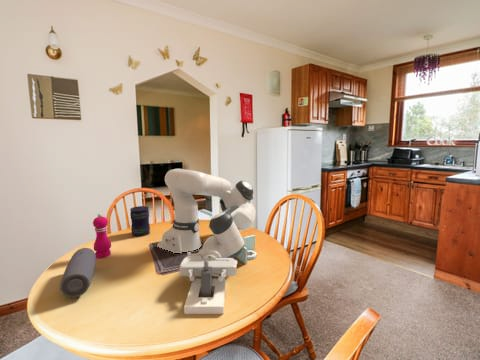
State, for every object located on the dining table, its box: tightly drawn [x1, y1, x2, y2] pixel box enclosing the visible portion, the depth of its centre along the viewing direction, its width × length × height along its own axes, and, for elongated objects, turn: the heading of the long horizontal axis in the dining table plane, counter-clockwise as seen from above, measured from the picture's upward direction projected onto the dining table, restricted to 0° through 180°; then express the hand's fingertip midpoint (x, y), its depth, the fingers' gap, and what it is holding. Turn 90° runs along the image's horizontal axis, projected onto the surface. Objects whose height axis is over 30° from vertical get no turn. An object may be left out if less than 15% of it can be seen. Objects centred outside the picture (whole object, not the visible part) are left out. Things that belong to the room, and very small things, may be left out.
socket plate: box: [183, 278, 227, 315], centre depth 86 cm, size 16×12×3 cm
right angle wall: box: [235, 234, 258, 265], centre depth 118 cm, size 12×12×8 cm
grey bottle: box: [200, 260, 213, 297], centre depth 85 cm, size 4×3×13 cm, turn 1°
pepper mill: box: [92, 213, 112, 259], centre depth 117 cm, size 7×7×20 cm
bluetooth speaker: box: [59, 247, 97, 298], centre depth 94 cm, size 23×9×10 cm, turn 24°
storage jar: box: [129, 205, 151, 238], centre depth 144 cm, size 10×10×15 cm
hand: (206, 279), depth 84 cm, fingers open, 8 cm apart
